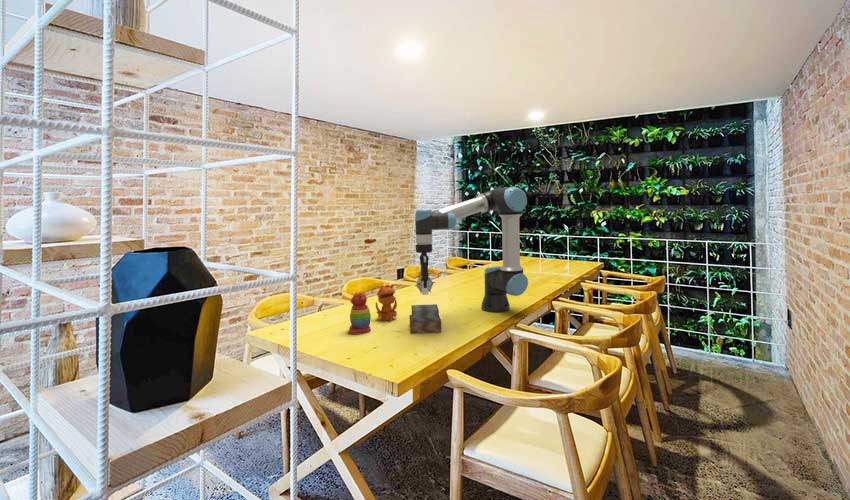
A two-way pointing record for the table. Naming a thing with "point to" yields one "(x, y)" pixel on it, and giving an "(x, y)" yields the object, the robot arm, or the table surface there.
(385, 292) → the brown upright figure
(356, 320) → the stacking bear
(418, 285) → the grey spiked ball
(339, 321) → the table surface
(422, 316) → the dark grey tapered block
